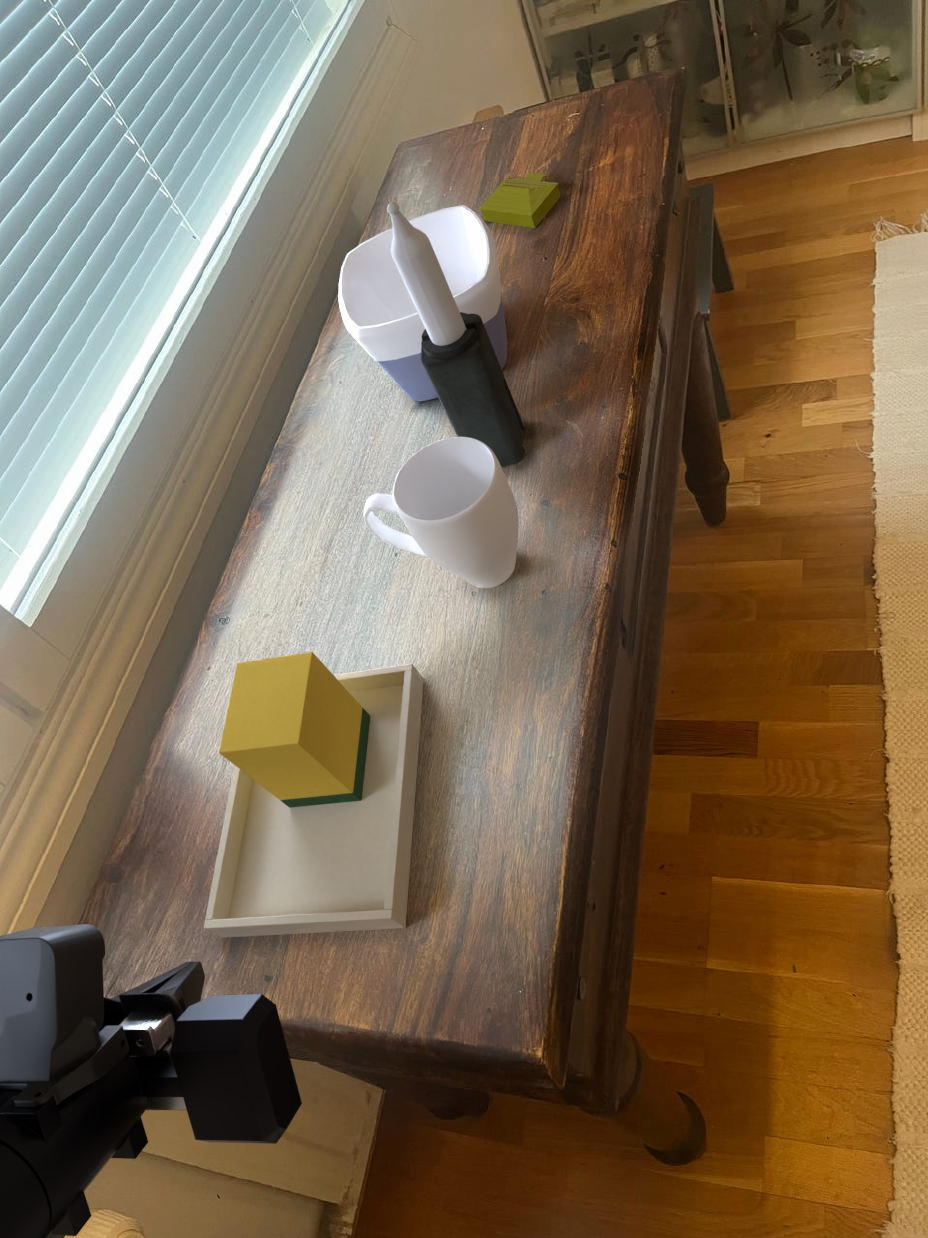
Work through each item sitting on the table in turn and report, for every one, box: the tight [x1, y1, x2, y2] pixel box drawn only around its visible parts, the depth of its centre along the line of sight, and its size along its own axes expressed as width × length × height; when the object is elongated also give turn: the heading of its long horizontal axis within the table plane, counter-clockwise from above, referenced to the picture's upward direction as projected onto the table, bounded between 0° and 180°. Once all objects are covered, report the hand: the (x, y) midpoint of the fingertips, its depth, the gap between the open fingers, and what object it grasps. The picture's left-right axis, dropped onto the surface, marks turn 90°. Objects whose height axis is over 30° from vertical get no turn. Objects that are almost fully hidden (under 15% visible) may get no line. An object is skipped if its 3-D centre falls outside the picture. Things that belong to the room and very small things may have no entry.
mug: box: [363, 436, 520, 589], centre depth 73 cm, size 12×8×11 cm
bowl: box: [338, 204, 508, 402], centre depth 88 cm, size 15×15×11 cm
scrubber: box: [219, 651, 370, 808], centre depth 67 cm, size 7×6×10 cm
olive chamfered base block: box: [477, 171, 583, 239], centre depth 101 cm, size 10×9×3 cm
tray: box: [203, 663, 425, 939], centre depth 69 cm, size 19×14×2 cm
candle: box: [386, 201, 527, 467], centre depth 74 cm, size 5×5×25 cm
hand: (197, 969), depth 52 cm, fingers closed
